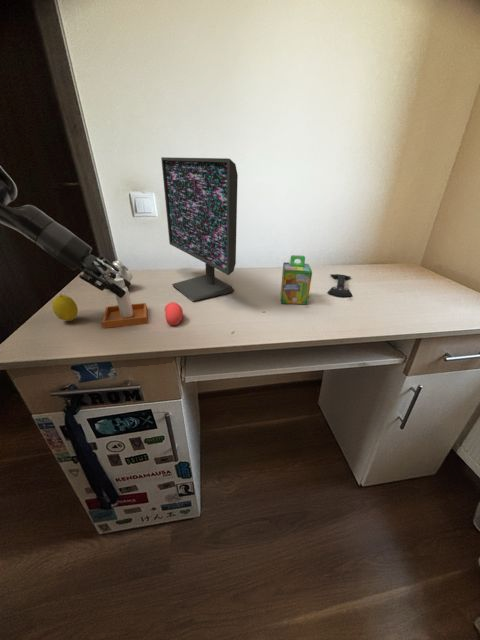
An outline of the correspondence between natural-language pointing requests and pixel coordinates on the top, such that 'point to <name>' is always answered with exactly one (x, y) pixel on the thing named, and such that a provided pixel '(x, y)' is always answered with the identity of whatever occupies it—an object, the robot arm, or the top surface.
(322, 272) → the top surface
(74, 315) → the lemon
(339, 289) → the dark flared piece
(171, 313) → the red kidney bean shape
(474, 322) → the top surface
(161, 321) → the top surface
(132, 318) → the amber tray
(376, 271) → the top surface
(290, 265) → the chalk box
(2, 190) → the robot arm
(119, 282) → the eye dropper bottle
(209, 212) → the computer monitor
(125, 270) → the silver rounded lump
